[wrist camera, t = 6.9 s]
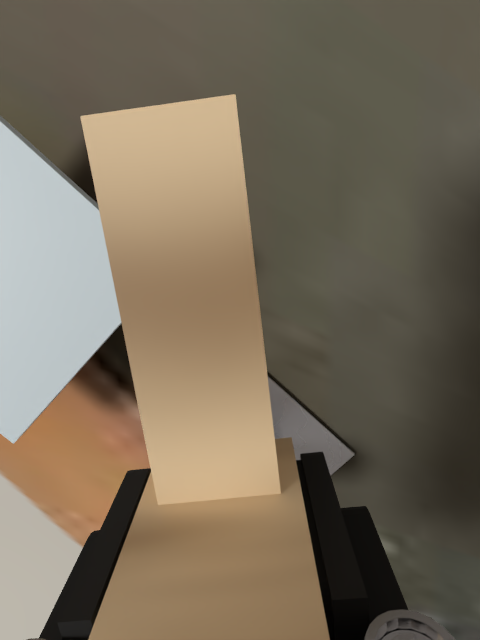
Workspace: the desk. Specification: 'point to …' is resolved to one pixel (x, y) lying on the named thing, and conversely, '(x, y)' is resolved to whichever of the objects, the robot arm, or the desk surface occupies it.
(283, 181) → the desk surface
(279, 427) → the pintle
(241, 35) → the desk surface
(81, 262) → the plate
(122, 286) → the link
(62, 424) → the desk surface
